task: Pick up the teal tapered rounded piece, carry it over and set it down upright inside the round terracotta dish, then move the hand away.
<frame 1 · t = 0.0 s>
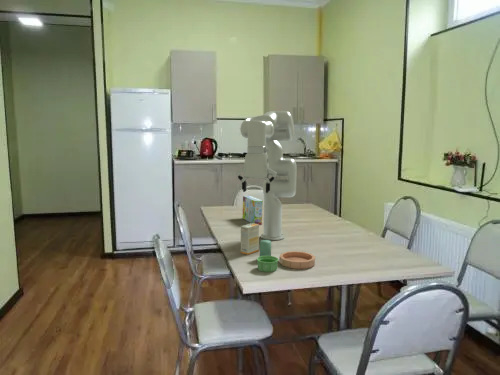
hand: (255, 191, 170), 31 cm above the table, tool pointing down, fingers open, 9 cm apart
round dish: (297, 263, 176), on the table
snack box: (251, 221, 256), on the table
teal tapered rounded piece: (265, 258, 181), on the table
supplement box: (249, 252, 191), on the table
ramekin: (267, 269, 168), on the table
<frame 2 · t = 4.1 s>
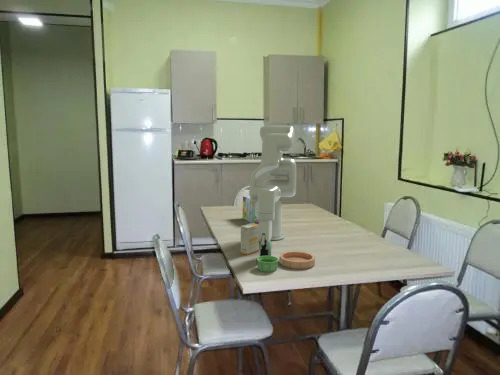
hand: (265, 255, 181), 1 cm above the table, tool pointing down, fingers closed on teal tapered rounded piece, 5 cm apart
teal tapered rounded piece: (265, 258, 181), on the table, touching gripper
everything else where it was.
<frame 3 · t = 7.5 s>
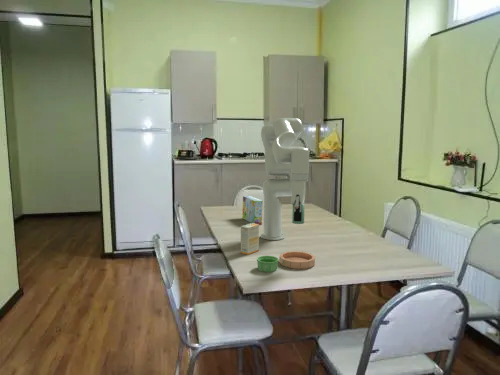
hand: (298, 219, 173), 19 cm above the table, tool pointing down, fingers closed on teal tapered rounded piece, 5 cm apart
teal tapered rounded piece: (298, 222, 173), point 18 cm above the table, touching gripper
everything else where it was.
when the fingers open (4 cm above the table, at t = 11.0 s): teal tapered rounded piece drops 1 cm, resting on round dish.
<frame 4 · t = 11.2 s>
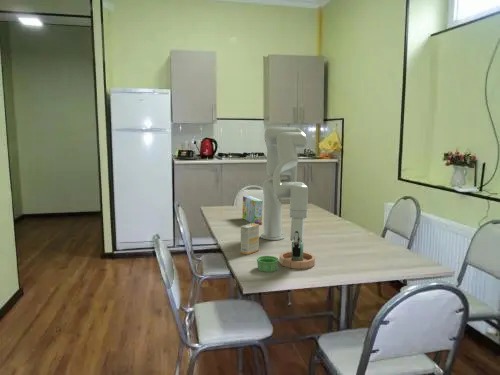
hand: (297, 253, 175), 4 cm above the table, tool pointing down, fingers open, 7 cm apart
teal tapered rounded piece: (297, 260, 176), point 1 cm above the table, touching round dish
everything else where it was.
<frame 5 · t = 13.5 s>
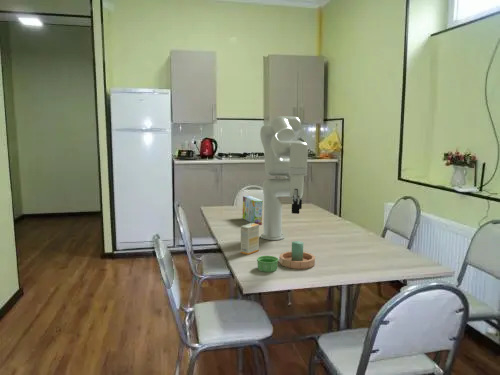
hand: (296, 211, 174), 23 cm above the table, tool pointing down, fingers open, 9 cm apart
nothing on the table moved.
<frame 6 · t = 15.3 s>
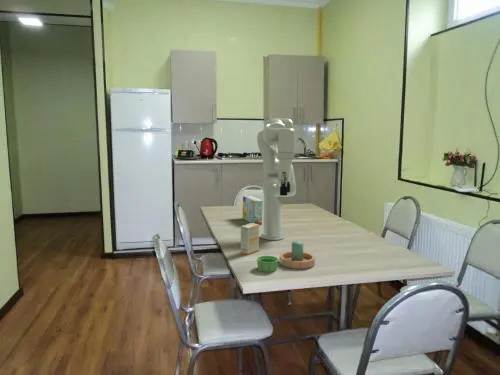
hand: (285, 193, 184), 28 cm above the table, tool pointing down, fingers open, 9 cm apart
nothing on the table moved.
at the end: teal tapered rounded piece 0.2 cm off-centre on the round dish, point 1.0 cm above the round dish's base; teal tapered rounded piece tilted 0°; the gripper is holding nothing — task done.
